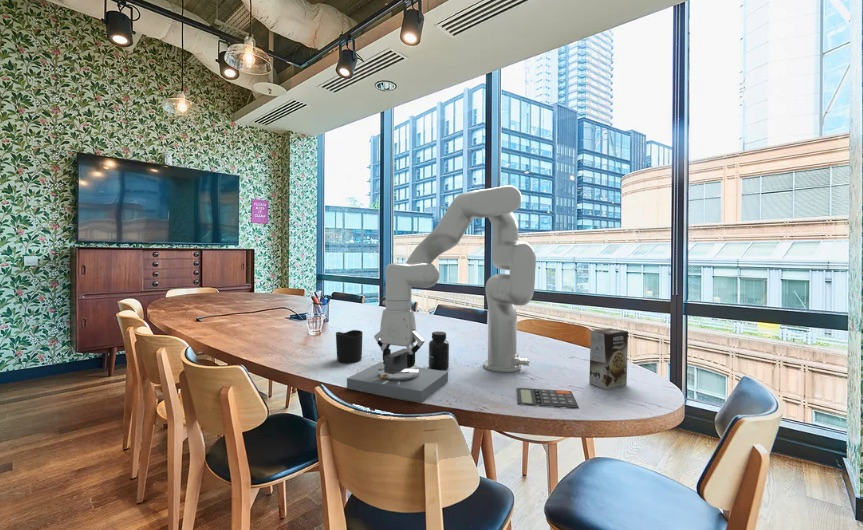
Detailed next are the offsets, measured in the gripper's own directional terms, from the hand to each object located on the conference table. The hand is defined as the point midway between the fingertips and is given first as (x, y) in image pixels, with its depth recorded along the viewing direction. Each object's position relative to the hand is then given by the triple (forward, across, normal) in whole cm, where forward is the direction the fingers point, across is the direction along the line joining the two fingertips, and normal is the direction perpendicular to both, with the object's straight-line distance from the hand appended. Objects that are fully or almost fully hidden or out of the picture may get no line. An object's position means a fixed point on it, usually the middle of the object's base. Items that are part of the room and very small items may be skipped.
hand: (398, 364), depth 117 cm
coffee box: (+6, +56, +27) cm, 62 cm away
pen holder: (+6, -29, +15) cm, 33 cm away
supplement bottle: (+6, +4, +20) cm, 21 cm away
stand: (+6, 0, 0) cm, 6 cm away
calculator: (+7, +41, +8) cm, 42 cm away
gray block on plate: (+3, 0, -1) cm, 3 cm away
